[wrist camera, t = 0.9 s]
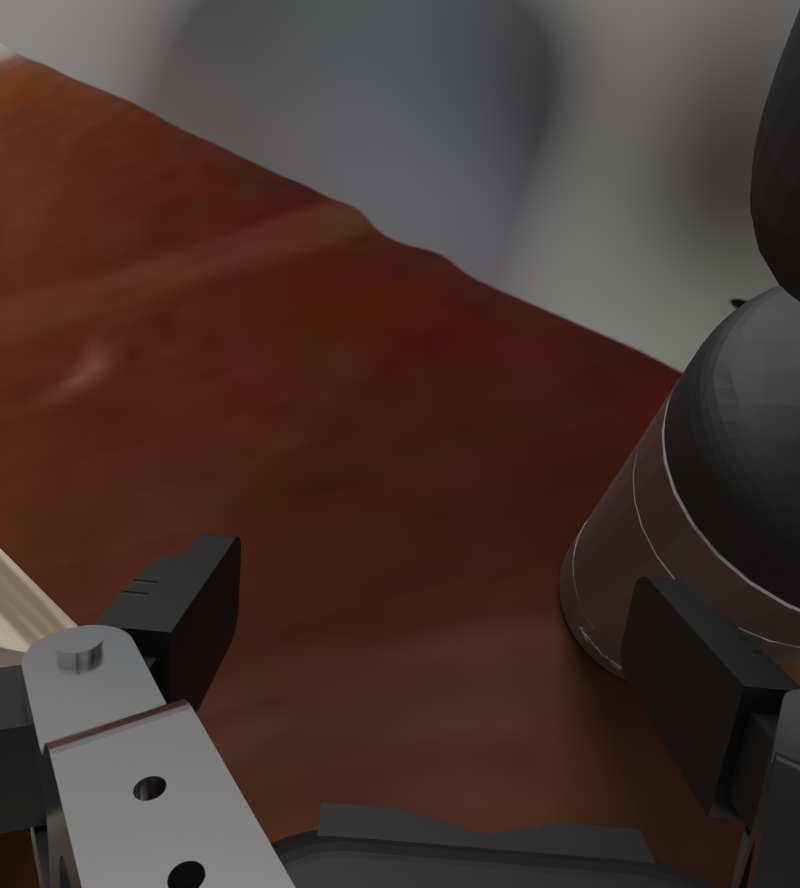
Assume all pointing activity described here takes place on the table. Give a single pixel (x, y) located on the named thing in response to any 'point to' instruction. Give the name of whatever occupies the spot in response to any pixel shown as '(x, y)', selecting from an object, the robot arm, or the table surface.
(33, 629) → the stand
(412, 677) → the table surface
